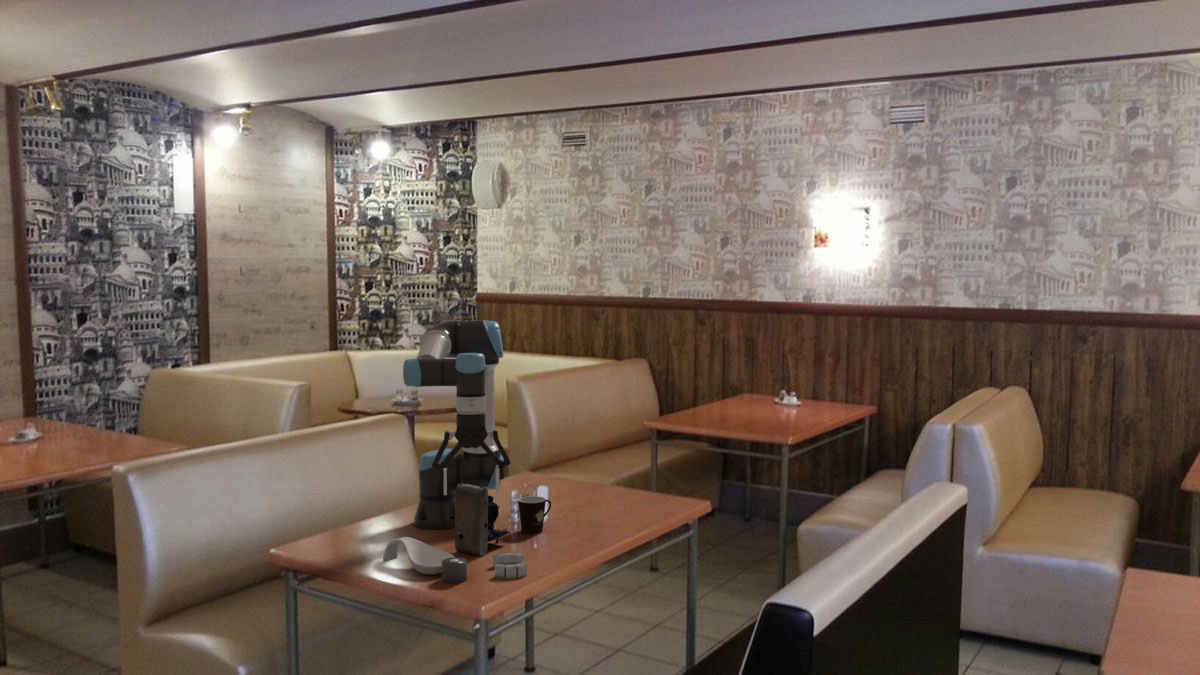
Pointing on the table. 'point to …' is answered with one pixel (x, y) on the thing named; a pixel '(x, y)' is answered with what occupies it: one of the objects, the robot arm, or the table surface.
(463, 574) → the cap
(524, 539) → the table surface
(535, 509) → the coffee mug
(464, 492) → the vintage camera
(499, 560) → the grey segmented ring
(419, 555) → the spoon rest
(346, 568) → the table surface
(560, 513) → the table surface
